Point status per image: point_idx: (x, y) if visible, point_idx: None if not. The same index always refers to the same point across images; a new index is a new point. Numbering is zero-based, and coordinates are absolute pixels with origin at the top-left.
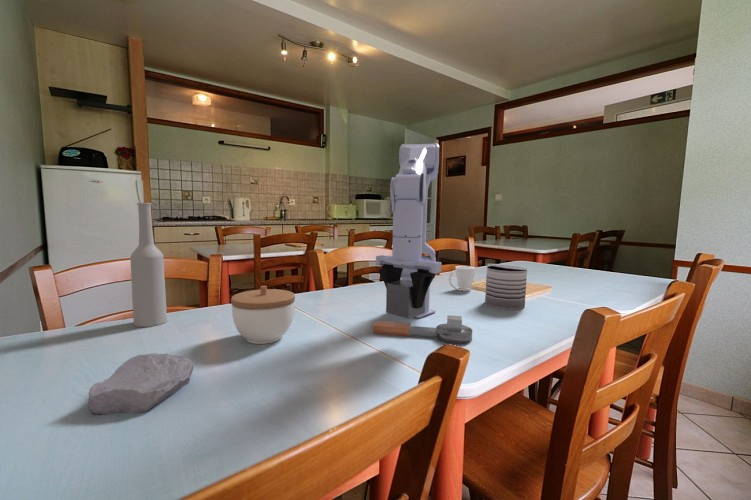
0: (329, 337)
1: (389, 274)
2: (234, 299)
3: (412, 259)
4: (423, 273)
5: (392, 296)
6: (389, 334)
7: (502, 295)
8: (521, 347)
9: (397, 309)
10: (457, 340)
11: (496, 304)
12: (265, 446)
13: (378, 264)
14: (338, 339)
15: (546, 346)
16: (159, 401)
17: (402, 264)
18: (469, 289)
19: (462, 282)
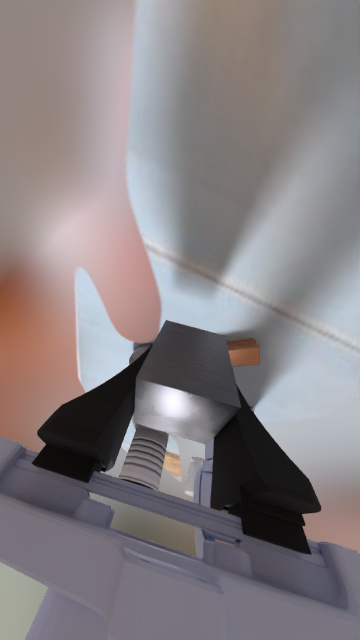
0: (335, 294)
1: (242, 458)
2: None
3: (48, 604)
4: (48, 441)
5: (209, 361)
6: (227, 342)
7: (144, 442)
8: (94, 357)
9: (193, 335)
10: (140, 347)
11: (152, 431)
12: None
13: (342, 555)
14: (311, 294)
15: (82, 365)
16: None
17: (121, 546)
18: (191, 459)
19: (197, 469)
